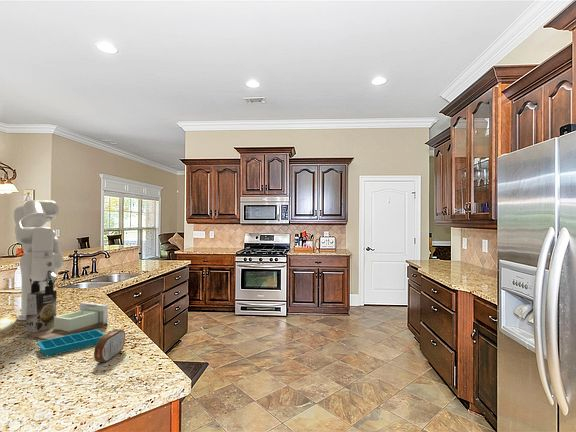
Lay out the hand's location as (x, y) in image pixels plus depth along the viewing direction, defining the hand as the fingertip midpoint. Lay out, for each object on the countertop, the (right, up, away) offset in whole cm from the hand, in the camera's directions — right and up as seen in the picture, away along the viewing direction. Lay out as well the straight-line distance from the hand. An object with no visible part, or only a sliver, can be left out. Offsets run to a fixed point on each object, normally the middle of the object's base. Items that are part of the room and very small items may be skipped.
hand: (42, 294), depth 144 cm
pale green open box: (+15, -14, 0) cm, 20 cm away
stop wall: (+18, -14, +7) cm, 24 cm away
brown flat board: (+14, -15, -3) cm, 20 cm away
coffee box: (0, -15, 0) cm, 15 cm away
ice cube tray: (+27, -15, -20) cm, 37 cm away
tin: (+47, -14, -31) cm, 58 cm away
